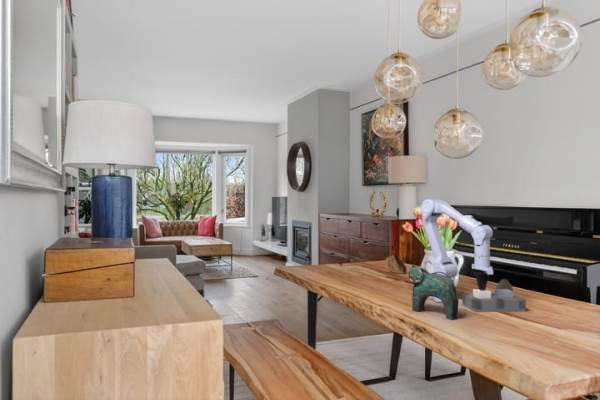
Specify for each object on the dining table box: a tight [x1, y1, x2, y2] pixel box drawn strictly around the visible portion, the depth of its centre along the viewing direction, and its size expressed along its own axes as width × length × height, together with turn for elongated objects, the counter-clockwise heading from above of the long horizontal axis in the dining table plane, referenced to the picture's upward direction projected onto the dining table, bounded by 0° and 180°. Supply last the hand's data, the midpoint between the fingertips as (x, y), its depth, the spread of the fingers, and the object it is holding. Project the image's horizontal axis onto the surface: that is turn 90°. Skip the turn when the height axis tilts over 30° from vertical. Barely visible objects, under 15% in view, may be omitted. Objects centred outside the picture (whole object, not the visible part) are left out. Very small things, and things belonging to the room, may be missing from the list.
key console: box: [461, 292, 527, 313], centre depth 176 cm, size 20×12×4 cm, turn 92°
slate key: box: [494, 288, 514, 298], centre depth 176 cm, size 5×5×4 cm
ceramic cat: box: [408, 260, 459, 321], centre depth 166 cm, size 20×6×20 cm, turn 37°
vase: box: [495, 278, 514, 292], centre depth 191 cm, size 7×7×9 cm
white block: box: [472, 288, 492, 298], centre depth 176 cm, size 5×5×4 cm
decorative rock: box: [385, 254, 407, 275], centre depth 259 cm, size 12×6×11 cm, turn 49°
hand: (482, 289), depth 176 cm, fingers closed
